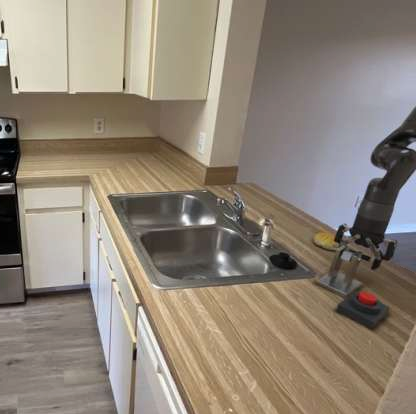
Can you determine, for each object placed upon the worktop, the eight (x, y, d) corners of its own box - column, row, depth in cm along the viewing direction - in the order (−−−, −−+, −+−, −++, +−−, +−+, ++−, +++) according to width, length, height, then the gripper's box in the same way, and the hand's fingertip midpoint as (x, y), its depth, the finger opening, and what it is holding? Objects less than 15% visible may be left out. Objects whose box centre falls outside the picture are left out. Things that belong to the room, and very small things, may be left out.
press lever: (348, 254, 103) (351, 247, 103) (368, 262, 99) (372, 255, 99) (333, 255, 96) (337, 248, 96) (355, 264, 92) (359, 256, 91)
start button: (360, 295, 89) (363, 290, 88) (377, 302, 86) (379, 297, 85) (355, 300, 87) (357, 294, 86) (371, 308, 84) (373, 302, 83)
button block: (352, 297, 93) (357, 285, 92) (387, 313, 87) (392, 301, 86) (336, 310, 88) (340, 298, 87) (371, 329, 82) (377, 316, 80)
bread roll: (322, 237, 125) (325, 228, 124) (346, 248, 118) (350, 238, 116) (307, 241, 123) (309, 231, 121) (330, 253, 115) (333, 242, 113)
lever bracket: (331, 272, 104) (342, 240, 99) (360, 285, 98) (373, 251, 93) (315, 283, 99) (326, 249, 94) (345, 298, 93) (358, 262, 88)
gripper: (410, 220, 91) (389, 269, 98) (351, 203, 102) (336, 249, 109) (400, 227, 88) (379, 277, 94) (340, 209, 99) (325, 255, 105)
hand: (356, 262), depth 101 cm, fingers open, 8 cm apart
